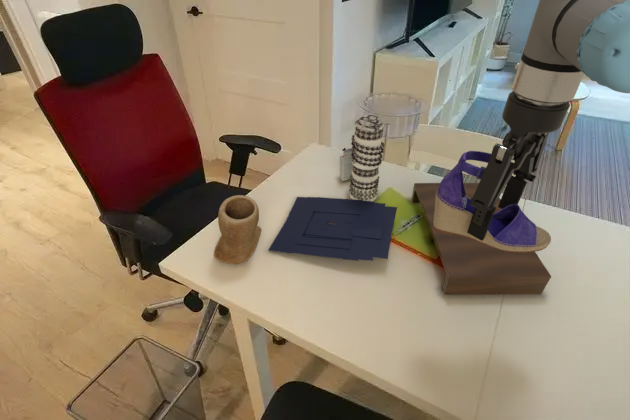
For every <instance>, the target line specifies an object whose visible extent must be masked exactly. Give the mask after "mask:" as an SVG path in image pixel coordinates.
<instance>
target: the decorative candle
mask: <svg viewBox="0 0 630 420" xmlns="http://www.w3.org/2000/svg"><path fill="white" fill-rule="evenodd" d="M354 125H355V127H354V128H355V129H354V134H352V135H351V143H350V144H351V148H352V149H351V151H352V154H351V156H352V160H351V161H352V164H353V168H352V173H351V176H350V178H351V179H349V182H350V183H349V190H348V192H349V195H348V196H349V199H352V200H363V201H372V202H375V200H376V199H377V197H378V191H379V183H380V176H379V173H380V166H381V165H382V162H383V153H384V151H385V149H384V148H385V143H384V142H383V141H384V128H385V127H386V123H385V122H384V121H383V120H382V118H380V116H377V115H373V114H365V115H362V116H361V117H359V118H358V119H357V120H356V121H355V122H354Z"/></svg>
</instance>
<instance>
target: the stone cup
mask: <svg viewBox="0 0 630 420" xmlns="http://www.w3.org/2000/svg"><path fill="white" fill-rule="evenodd" d="M259 212H260V209H259V206H258V204H257V202H256V200H254V198H251V197H249V196H248V195H243V194H237V195H232V196H230V197H227V198H226V199H224V200H223V202H222V203H221V204H220V206H219V209H218V213H217V220H218V221H217V222H218V228H219V232H220V237H219V239H218V241H217V244H216V245H215V247H214V250H213V257H214V259H216V260H217V261H219V262H222V263H224V264H230V265H237V264H243V263H246V262H247V261H248V260H249V259H250V258H251V256H252V255H253V253H254V252H255V249H256V247H257V244H258V241H259V238H260V236H261V233H262V227H260V226H259V225H258V224H259V222H260V221H259V220H260V213H259Z"/></svg>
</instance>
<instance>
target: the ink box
mask: <svg viewBox="0 0 630 420" xmlns="http://www.w3.org/2000/svg"><path fill="white" fill-rule="evenodd" d="M351 149H352V147H350V148H347V149H344V150H343V152H342V153H343V155H341V156H339V178H340V180H341V181H342V182H345V181H348V180H349V181H350V180H351V178H350V176H351V173H352V168H353V164H352V161H351V160H352V156H351V154H352V151H351Z"/></svg>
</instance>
